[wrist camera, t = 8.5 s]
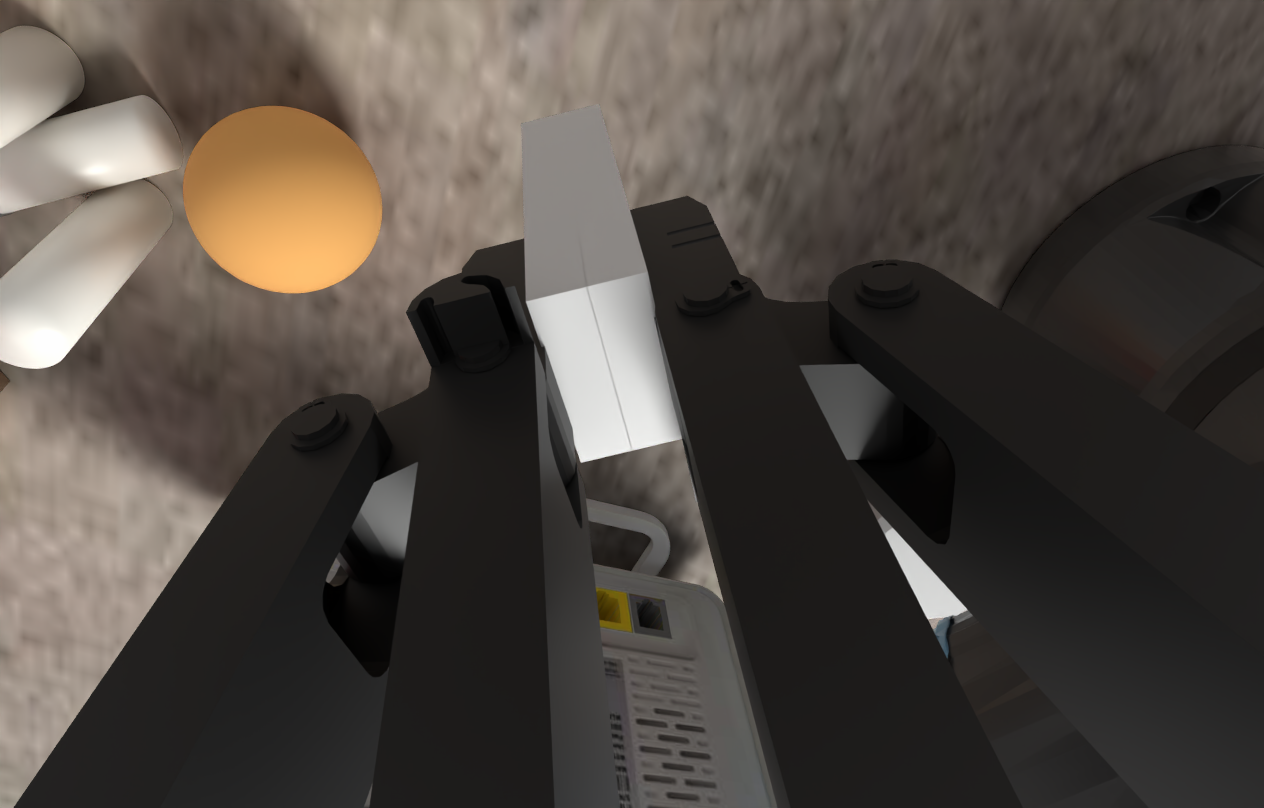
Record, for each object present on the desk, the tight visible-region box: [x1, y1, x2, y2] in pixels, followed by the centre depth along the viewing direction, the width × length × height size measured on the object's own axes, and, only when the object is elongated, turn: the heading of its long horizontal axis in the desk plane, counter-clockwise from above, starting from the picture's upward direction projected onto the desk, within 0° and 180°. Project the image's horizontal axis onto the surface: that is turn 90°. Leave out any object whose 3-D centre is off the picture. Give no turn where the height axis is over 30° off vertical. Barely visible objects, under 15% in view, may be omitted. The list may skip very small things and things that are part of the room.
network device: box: [326, 498, 777, 808], centre depth 33 cm, size 26×9×20 cm, turn 65°
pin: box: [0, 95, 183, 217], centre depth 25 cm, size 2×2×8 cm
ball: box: [183, 106, 382, 293], centre depth 25 cm, size 6×6×6 cm
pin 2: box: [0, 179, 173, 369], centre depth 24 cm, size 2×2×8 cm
